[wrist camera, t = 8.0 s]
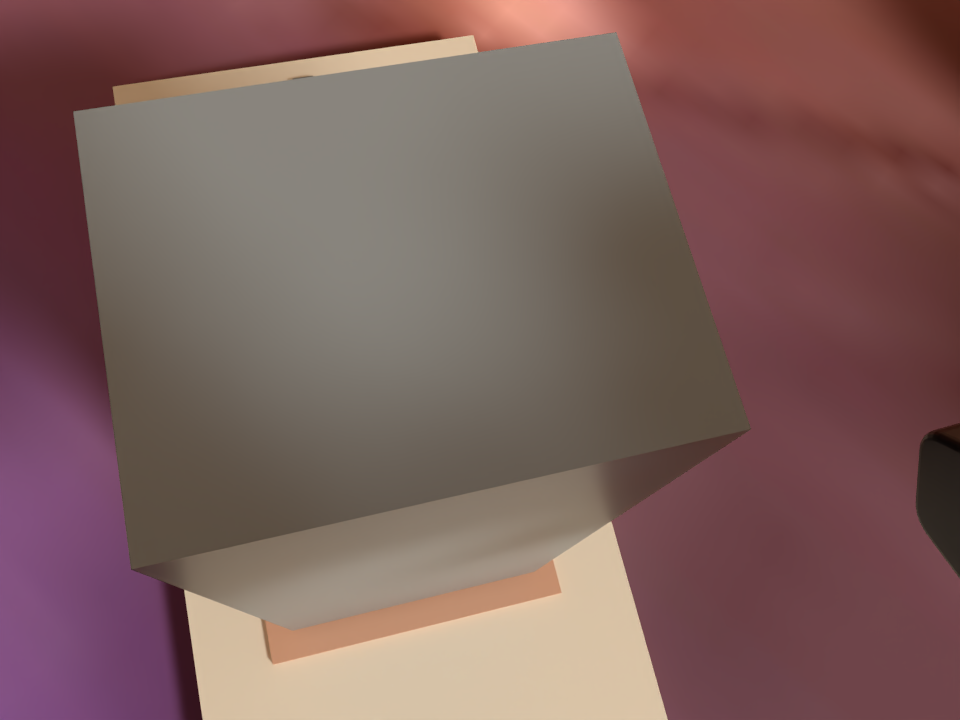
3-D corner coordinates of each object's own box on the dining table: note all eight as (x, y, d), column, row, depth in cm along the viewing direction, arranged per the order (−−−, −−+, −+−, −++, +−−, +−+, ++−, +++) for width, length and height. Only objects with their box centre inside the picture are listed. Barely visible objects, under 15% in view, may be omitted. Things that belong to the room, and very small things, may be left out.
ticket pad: (701, 897, 19) (726, 915, 17) (260, 1037, 17) (250, 1068, 16) (469, 64, 25) (473, 30, 23) (126, 114, 23) (110, 81, 22)
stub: (534, 571, 19) (750, 428, 8) (292, 630, 18) (132, 569, 7) (488, 390, 20) (615, 32, 9) (259, 438, 19) (73, 111, 8)
